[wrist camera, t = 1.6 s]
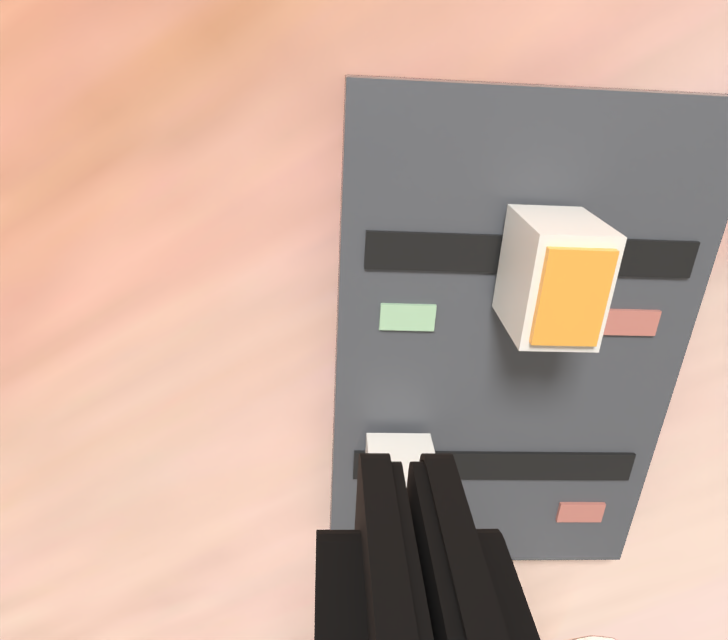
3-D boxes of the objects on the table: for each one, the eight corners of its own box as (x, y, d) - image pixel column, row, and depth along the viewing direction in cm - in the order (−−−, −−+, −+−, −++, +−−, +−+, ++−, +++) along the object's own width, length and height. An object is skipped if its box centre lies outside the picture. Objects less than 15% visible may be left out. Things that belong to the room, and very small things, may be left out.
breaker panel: (741, 94, 24) (769, 98, 23) (608, 538, 34) (621, 562, 33) (345, 74, 23) (346, 77, 22) (329, 539, 33) (329, 563, 32)
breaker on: (430, 433, 28) (444, 492, 24) (421, 505, 30) (434, 569, 26) (366, 432, 28) (372, 491, 24) (361, 505, 30) (366, 570, 26)
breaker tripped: (582, 206, 24) (631, 240, 20) (560, 307, 26) (602, 356, 22) (507, 203, 24) (543, 237, 20) (491, 306, 25) (521, 355, 22)
